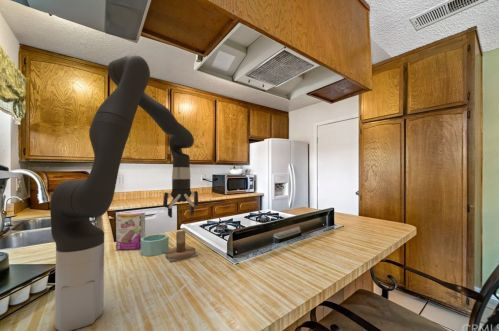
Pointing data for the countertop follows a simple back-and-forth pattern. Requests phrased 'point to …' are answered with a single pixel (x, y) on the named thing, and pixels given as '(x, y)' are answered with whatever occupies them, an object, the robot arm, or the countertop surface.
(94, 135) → the robot arm
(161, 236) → the bowl
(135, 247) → the candy bar box
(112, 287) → the countertop surface
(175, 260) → the mat
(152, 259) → the countertop surface
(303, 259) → the countertop surface
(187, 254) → the lid
